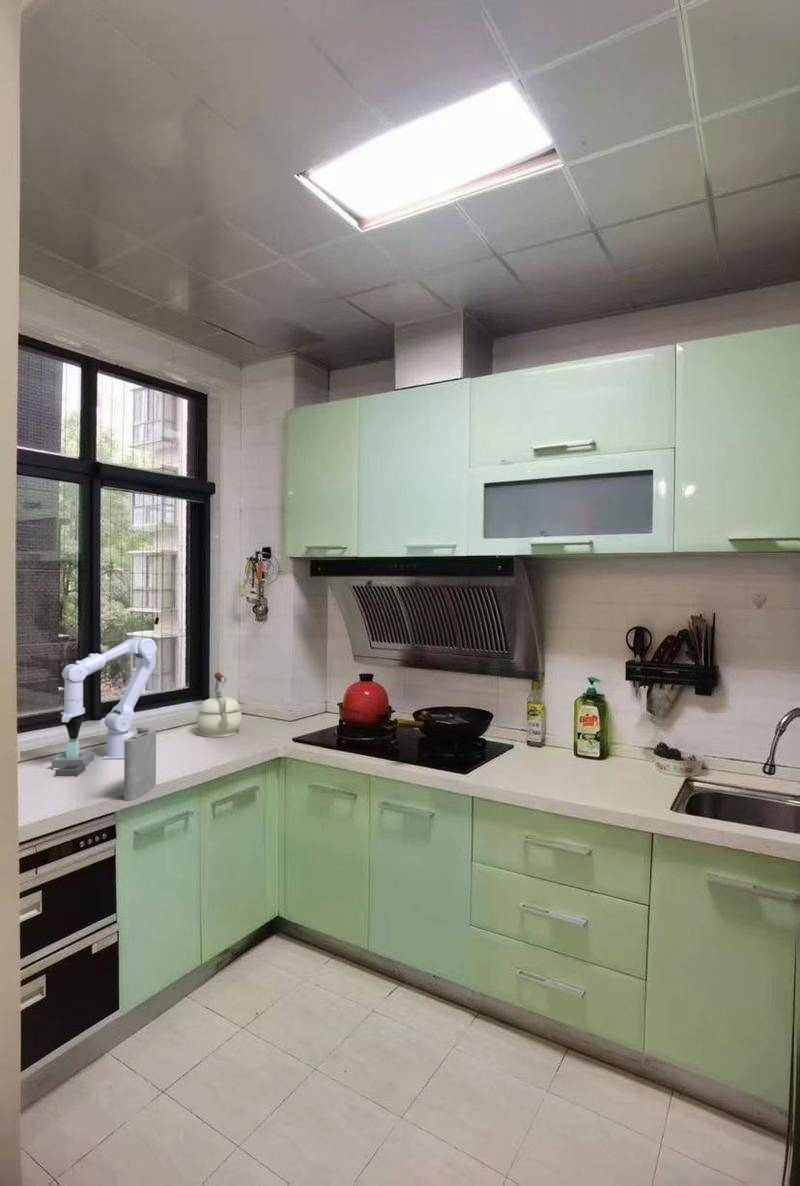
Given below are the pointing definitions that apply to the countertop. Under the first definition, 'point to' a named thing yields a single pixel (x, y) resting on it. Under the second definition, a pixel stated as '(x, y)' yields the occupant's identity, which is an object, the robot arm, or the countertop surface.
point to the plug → (72, 749)
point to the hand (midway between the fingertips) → (73, 738)
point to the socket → (73, 759)
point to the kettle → (219, 713)
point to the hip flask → (139, 763)
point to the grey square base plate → (70, 770)
